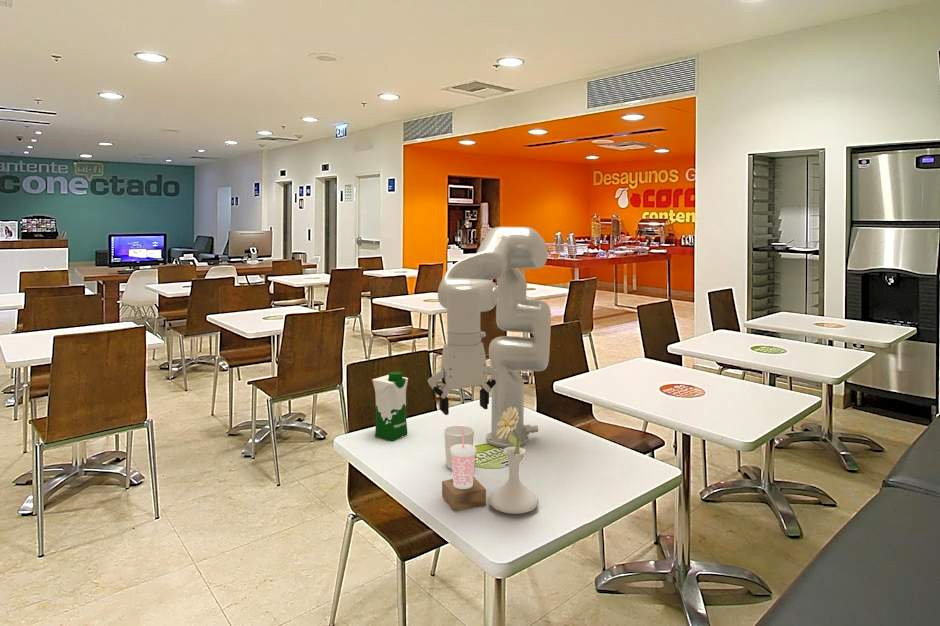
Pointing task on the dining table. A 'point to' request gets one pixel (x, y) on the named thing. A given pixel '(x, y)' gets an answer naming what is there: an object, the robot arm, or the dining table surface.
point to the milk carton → (391, 406)
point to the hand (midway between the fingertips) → (464, 410)
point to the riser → (464, 495)
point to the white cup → (456, 439)
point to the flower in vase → (512, 472)
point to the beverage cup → (463, 464)
